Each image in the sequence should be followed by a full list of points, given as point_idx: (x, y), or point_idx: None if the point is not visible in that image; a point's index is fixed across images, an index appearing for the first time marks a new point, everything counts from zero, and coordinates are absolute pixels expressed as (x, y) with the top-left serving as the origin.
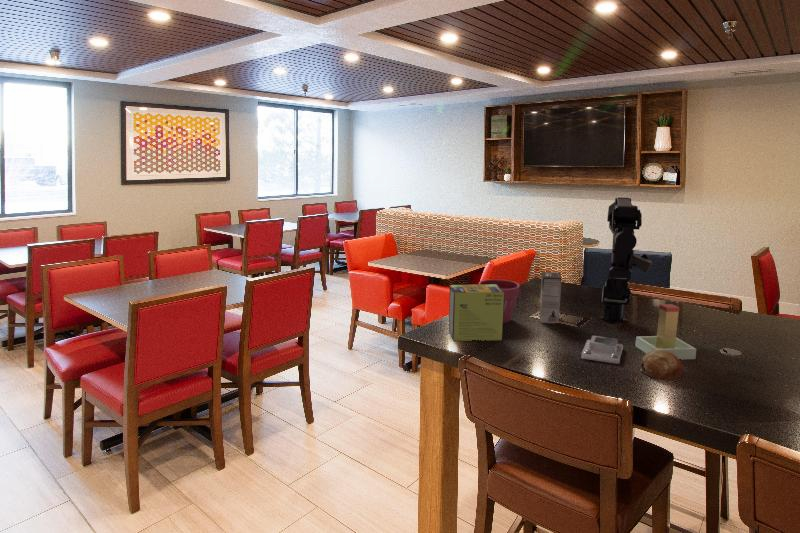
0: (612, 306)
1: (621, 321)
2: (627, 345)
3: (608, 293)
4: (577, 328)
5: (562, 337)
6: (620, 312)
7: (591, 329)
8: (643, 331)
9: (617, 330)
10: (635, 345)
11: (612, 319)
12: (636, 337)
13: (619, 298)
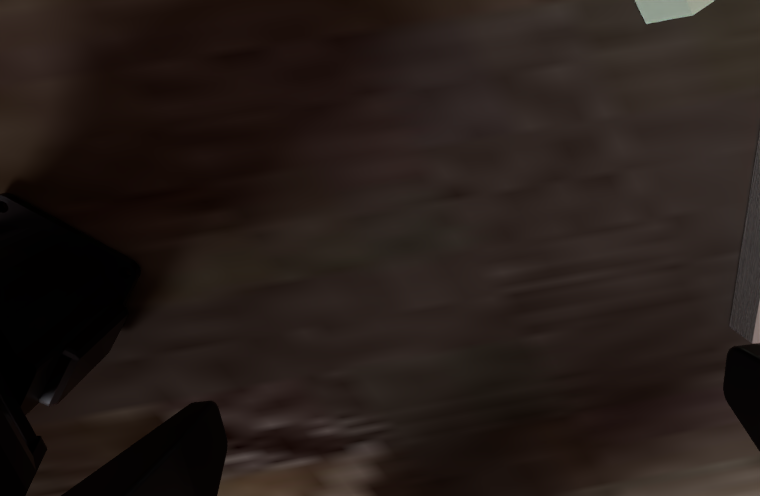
0: (42, 352)
1: (65, 224)
2: (649, 83)
3: (9, 493)
4: (409, 435)
5: (638, 465)
6: (20, 263)
7: (383, 364)
8: (205, 22)
9: (304, 212)
10: (652, 21)
11: (103, 289)
12: (695, 11)
13: (750, 352)
